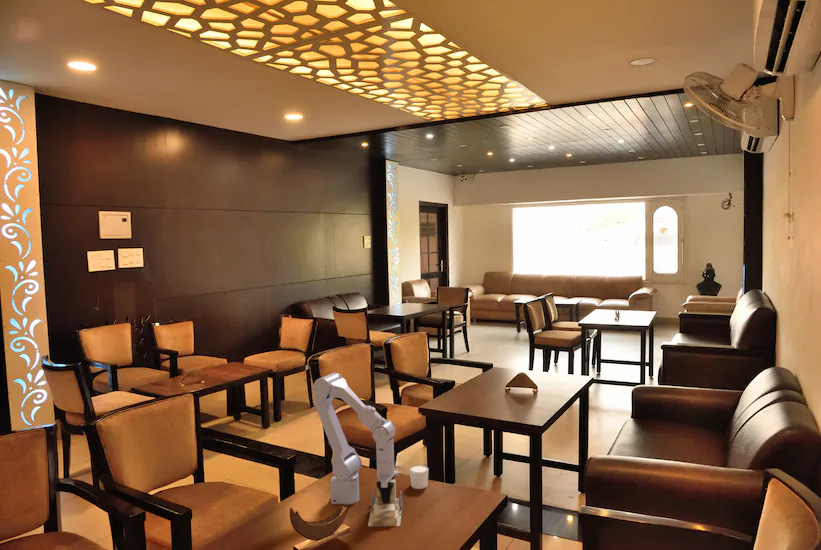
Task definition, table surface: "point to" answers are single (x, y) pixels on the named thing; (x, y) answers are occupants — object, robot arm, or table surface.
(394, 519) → the offcut lower
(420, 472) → the white cylinder
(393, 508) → the offcut upper
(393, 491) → the birch block
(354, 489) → the robot arm
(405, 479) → the table surface
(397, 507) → the rack
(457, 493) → the table surface
